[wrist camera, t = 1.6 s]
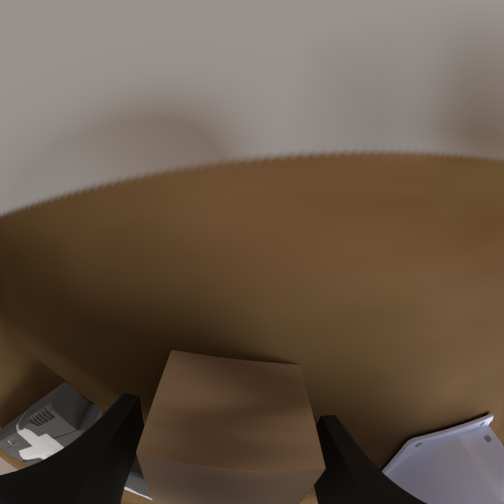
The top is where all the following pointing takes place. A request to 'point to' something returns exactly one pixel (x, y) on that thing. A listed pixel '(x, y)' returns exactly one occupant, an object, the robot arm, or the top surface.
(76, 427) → the handgun
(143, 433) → the walnut cube
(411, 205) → the top surface
